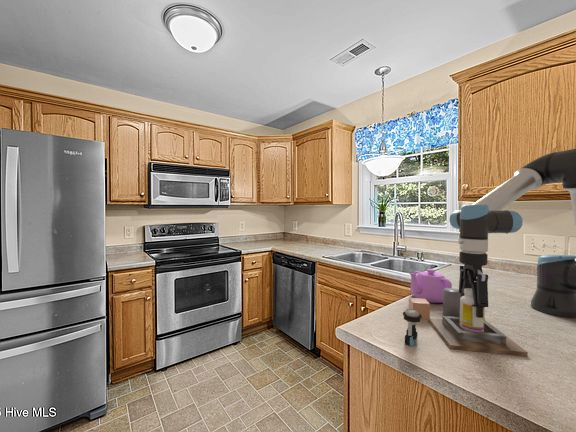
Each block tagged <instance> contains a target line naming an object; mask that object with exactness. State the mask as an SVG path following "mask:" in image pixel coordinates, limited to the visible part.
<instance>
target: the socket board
mask: <svg viewBox="0 0 576 432" xmlns="http://www.w3.org/2000/svg"><path fill="white" fill-rule="evenodd" d="M428 323H429V324H430V325H431V326H432V328H433V329H434V330H435V331H436V332H437V334H438V336H439V337H440V338H441V339H442V340H443V341H444V343H445V344H446V346H448V348H449V349H450V350H458V351H467V352H479V353H487V354H488V353H489V354H500V355H508V356H509V355H510V356H519V357H520V356H521V357H528V355H529V354H528V353H529V352H528V351H527V350H526V349H525V348H523V347H522V346H520V345H519V344H517V342H515V341H513V340H512V339H511V338H510V337H508V336H507V335H506V334H505V333H503V331H501V330H500V329H498V328H497V327H496V326H494V325H493V324H492V323H490V322H488V321H487V320H486V319H484V331H483V332H471V331H466V330H464V329H462V328H461V327H460V317H451V316H443V315H442V318H434V317H433V318H432V317H430V318H429V319H428Z"/></svg>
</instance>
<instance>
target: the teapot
mask: <svg viewBox="0 0 576 432" xmlns="http://www.w3.org/2000/svg"><path fill="white" fill-rule="evenodd" d="M407 273H409V275H410V278H411V279H410V292H411V294H412V295H413V298H422V299H426V300H427V301H428V302H429V303H430V304H431V303H433V304H434V303H435V304H436V303H437V304H439V303H440V304H443V289H445V288H452V287H453V284H452V282H451V281H450V280H449V279H447V278H446V277H445V276H444V275H443V274H442V273H439V272H436V269H433V268H427V269H426V271H420V270H416V271H414V272H413V273H412V272H407Z"/></svg>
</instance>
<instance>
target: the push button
mask: <svg viewBox="0 0 576 432" xmlns="http://www.w3.org/2000/svg"><path fill="white" fill-rule="evenodd" d="M402 316H403V320H405V321H406V322H407V323H408V324H407V326H408V327H407V329H406V333H405V336H404V345H407V346H410V347H413V346H414V345H418V336H419V334H418V332H417V328H416V324H418V323H420V322H421V320H422V319H421V318H422V315H421V314H419V312H418V311H416V310H413V309H409V308H408V309H406V310H405V311H403V312H402Z"/></svg>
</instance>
